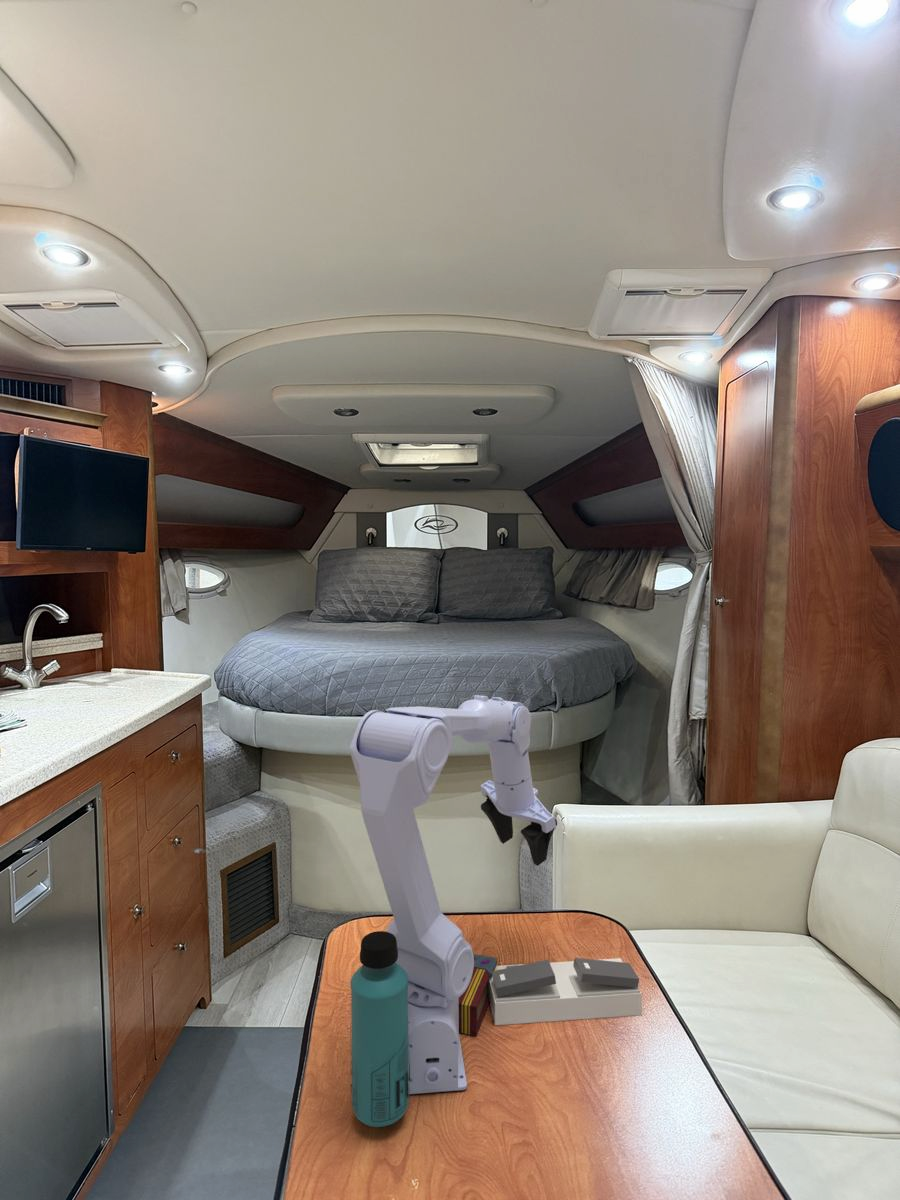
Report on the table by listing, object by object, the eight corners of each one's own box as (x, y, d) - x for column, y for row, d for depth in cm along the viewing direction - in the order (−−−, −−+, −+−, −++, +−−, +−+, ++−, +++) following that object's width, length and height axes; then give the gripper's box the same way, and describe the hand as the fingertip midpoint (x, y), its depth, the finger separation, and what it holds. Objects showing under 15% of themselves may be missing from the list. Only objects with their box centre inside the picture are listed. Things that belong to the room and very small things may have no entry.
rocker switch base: (641, 1015, 88) (641, 991, 87) (495, 1025, 86) (495, 1001, 86) (620, 978, 96) (620, 956, 95) (485, 986, 94) (485, 964, 93)
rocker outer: (637, 987, 88) (639, 978, 88) (580, 982, 87) (582, 972, 87) (627, 971, 91) (629, 962, 91) (573, 966, 91) (574, 957, 91)
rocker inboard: (556, 983, 87) (554, 974, 87) (497, 996, 86) (496, 987, 86) (549, 967, 90) (548, 958, 90) (493, 979, 90) (491, 970, 89)
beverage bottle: (401, 1148, 67) (401, 959, 67) (340, 1136, 69) (339, 952, 68) (416, 1098, 74) (416, 926, 73) (361, 1088, 75) (360, 919, 74)
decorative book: (477, 1041, 83) (477, 1003, 83) (362, 1016, 88) (361, 980, 88) (497, 987, 94) (497, 954, 94) (394, 967, 99) (393, 935, 99)
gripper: (566, 779, 94) (575, 858, 98) (499, 748, 105) (510, 819, 109) (531, 802, 90) (542, 883, 94) (466, 766, 101) (478, 840, 105)
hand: (523, 850), depth 101 cm, fingers open, 7 cm apart
